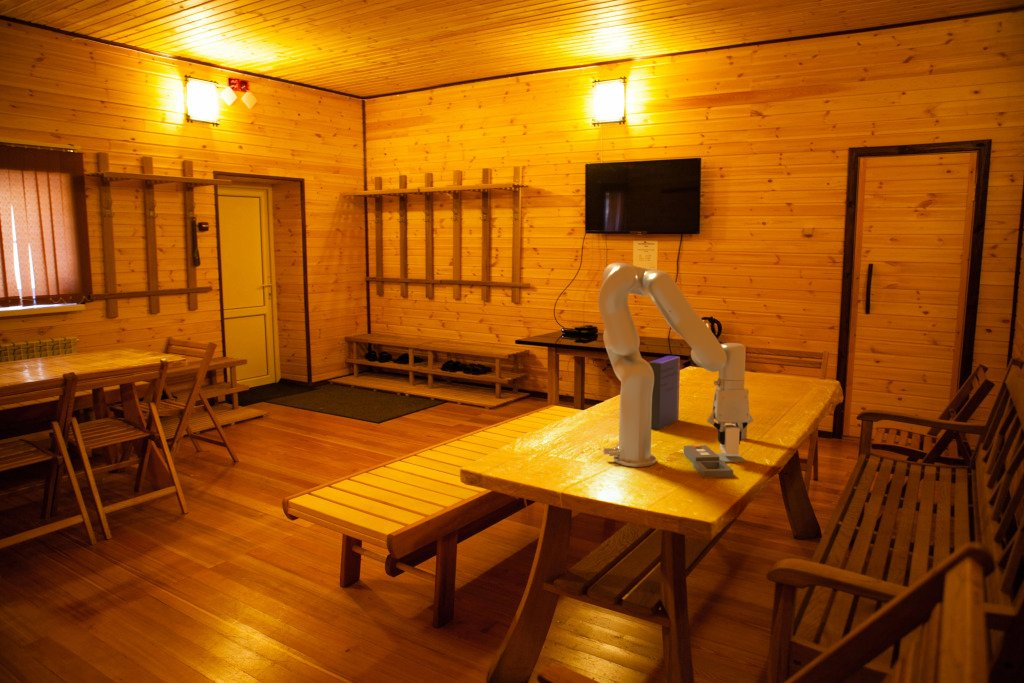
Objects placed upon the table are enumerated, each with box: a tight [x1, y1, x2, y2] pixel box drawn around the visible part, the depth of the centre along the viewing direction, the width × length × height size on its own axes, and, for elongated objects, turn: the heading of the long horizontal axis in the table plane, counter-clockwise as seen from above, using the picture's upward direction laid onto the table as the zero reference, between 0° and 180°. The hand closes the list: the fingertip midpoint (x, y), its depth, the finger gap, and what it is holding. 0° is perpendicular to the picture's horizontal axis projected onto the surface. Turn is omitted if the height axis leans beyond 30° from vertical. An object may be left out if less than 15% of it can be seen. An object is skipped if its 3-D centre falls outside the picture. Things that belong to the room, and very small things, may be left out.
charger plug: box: [719, 423, 740, 455], centre depth 215 cm, size 4×5×8 cm
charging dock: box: [683, 444, 734, 478], centre depth 209 cm, size 8×21×4 cm, turn 3°
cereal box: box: [647, 355, 681, 431], centre depth 255 cm, size 17×5×24 cm, turn 145°
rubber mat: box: [715, 452, 747, 464], centre depth 216 cm, size 8×8×1 cm
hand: (729, 442), depth 215 cm, fingers closed on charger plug, 4 cm apart
